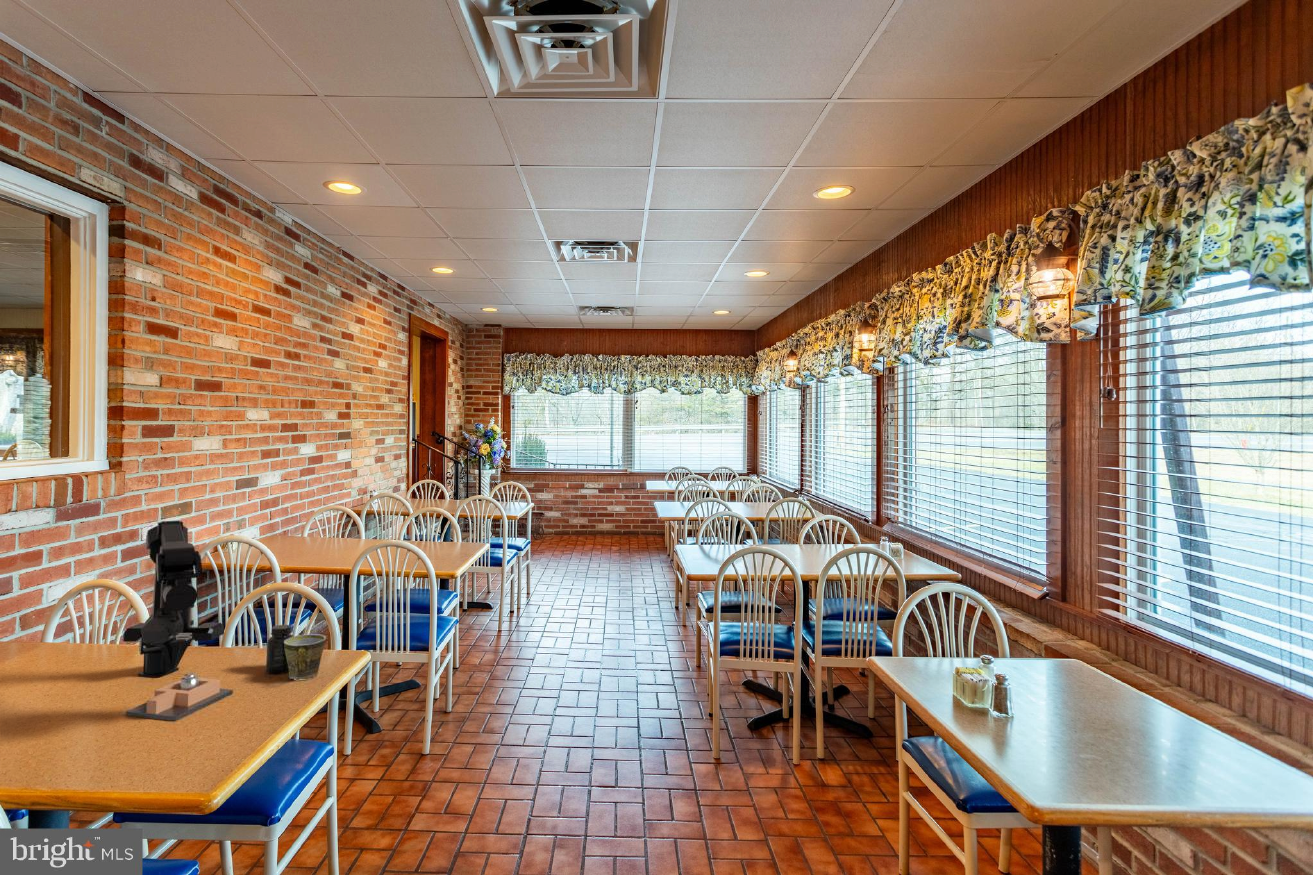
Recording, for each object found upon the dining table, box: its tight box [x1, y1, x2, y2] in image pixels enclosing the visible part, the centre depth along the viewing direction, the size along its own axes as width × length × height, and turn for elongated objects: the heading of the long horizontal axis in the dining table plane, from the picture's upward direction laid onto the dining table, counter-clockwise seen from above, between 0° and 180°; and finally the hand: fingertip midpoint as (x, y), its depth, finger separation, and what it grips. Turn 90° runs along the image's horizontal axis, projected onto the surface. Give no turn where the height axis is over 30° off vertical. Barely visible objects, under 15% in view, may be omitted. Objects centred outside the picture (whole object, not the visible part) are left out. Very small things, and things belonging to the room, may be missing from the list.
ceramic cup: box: [284, 633, 327, 680], centre depth 171 cm, size 13×10×10 cm
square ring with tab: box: [146, 677, 221, 714], centre depth 152 cm, size 9×14×3 cm, turn 172°
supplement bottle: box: [265, 624, 295, 675], centre depth 176 cm, size 7×7×12 cm
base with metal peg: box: [125, 672, 234, 722], centre depth 152 cm, size 13×16×6 cm
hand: (173, 669), depth 147 cm, fingers closed
